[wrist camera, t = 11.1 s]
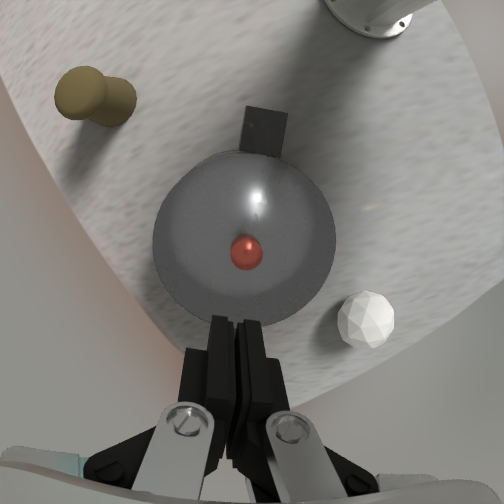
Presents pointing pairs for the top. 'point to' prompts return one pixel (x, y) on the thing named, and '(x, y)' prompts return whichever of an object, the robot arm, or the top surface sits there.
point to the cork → (94, 97)
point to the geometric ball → (365, 320)
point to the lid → (244, 239)
